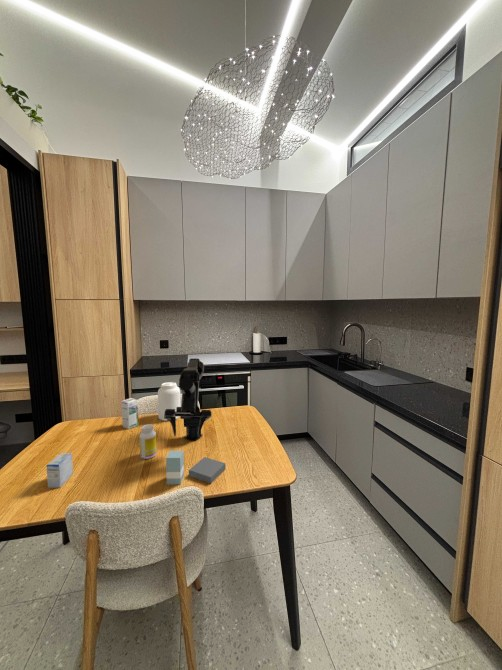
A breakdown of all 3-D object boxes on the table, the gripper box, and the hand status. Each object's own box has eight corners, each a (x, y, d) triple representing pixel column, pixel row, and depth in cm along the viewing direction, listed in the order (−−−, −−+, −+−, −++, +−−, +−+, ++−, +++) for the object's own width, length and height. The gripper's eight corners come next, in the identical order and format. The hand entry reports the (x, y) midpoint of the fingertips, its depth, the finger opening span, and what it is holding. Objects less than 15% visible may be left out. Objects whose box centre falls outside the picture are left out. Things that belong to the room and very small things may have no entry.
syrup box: (128, 429, 142) (127, 402, 140) (122, 426, 145) (121, 400, 143) (138, 425, 147) (137, 399, 145) (131, 423, 150) (130, 397, 148)
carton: (170, 475, 103) (169, 450, 102) (184, 475, 103) (183, 450, 102) (166, 484, 98) (165, 458, 97) (180, 484, 98) (180, 458, 97)
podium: (188, 476, 103) (188, 469, 102) (204, 462, 112) (204, 457, 111) (211, 483, 98) (211, 477, 98) (225, 469, 107) (225, 463, 107)
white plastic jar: (154, 420, 153) (153, 385, 151) (164, 412, 166) (164, 380, 164) (175, 422, 151) (174, 387, 149) (184, 413, 164) (183, 381, 162)
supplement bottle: (159, 452, 119) (159, 424, 118) (149, 460, 113) (148, 431, 112) (147, 450, 121) (146, 422, 120) (136, 457, 115) (135, 428, 114)
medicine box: (61, 474, 103) (59, 452, 102) (73, 474, 103) (72, 452, 103) (47, 488, 95) (45, 464, 94) (60, 487, 96) (59, 464, 95)
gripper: (207, 403, 126) (206, 439, 118) (164, 402, 120) (161, 439, 112) (211, 396, 116) (211, 434, 109) (166, 394, 111) (162, 435, 103)
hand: (186, 436), depth 109 cm, fingers open, 9 cm apart
